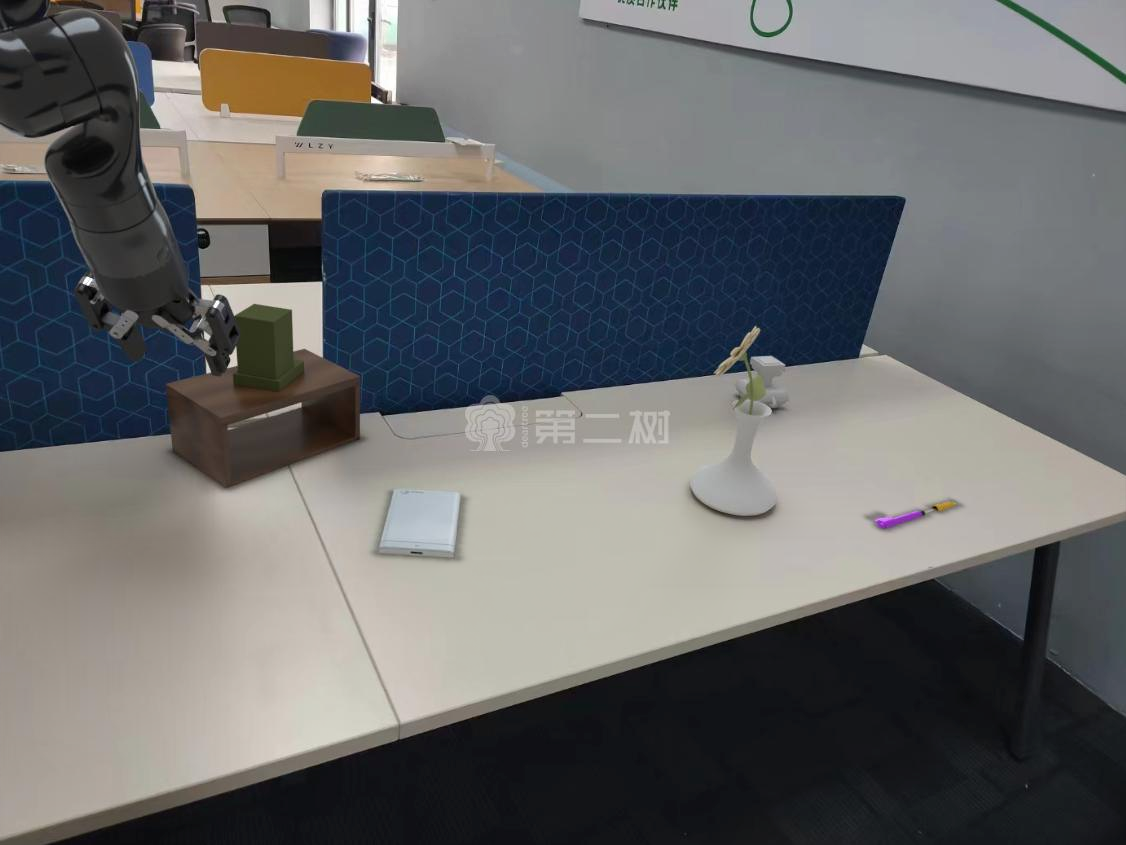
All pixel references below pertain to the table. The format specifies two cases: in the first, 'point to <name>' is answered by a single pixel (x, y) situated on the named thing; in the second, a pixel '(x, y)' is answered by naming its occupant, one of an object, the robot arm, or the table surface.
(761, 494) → the flower in vase
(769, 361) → the stamp
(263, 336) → the green pedestal block
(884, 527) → the purple and yellow rod
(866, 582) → the table surface
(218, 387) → the brown wooden cubby
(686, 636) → the table surface
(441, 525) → the hard drive
